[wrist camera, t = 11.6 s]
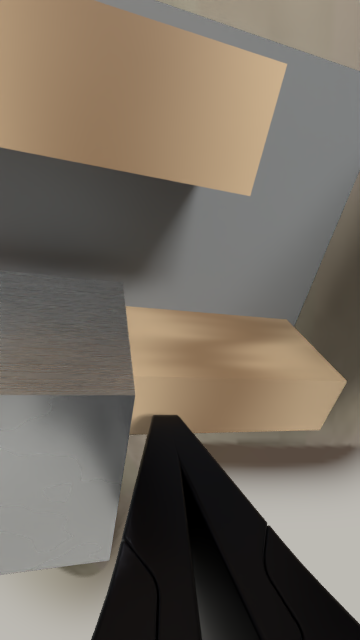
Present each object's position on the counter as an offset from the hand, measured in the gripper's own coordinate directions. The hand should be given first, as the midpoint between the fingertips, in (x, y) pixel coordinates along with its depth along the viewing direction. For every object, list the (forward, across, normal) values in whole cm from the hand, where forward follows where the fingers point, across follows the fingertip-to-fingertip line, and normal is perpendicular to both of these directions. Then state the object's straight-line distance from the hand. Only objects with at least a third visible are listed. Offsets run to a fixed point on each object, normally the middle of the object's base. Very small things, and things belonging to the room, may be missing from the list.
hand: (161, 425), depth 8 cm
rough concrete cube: (+3, +3, 0) cm, 4 cm away
